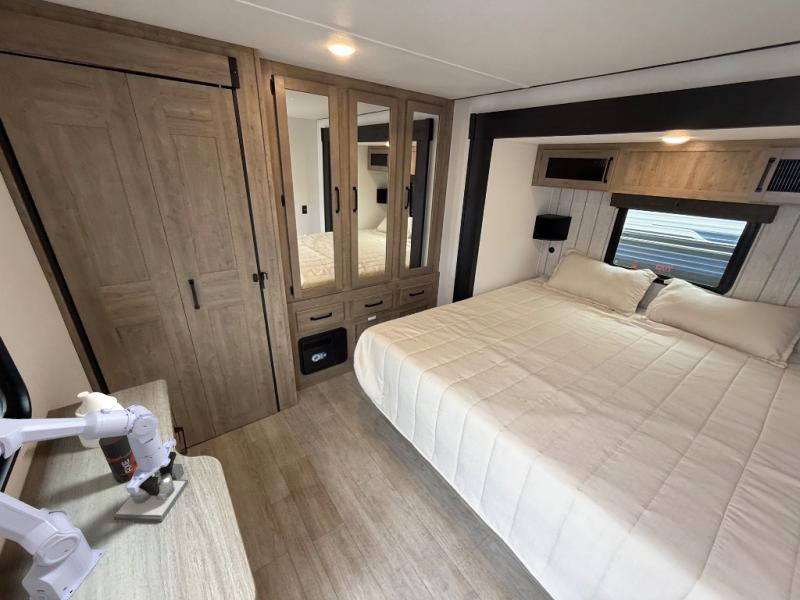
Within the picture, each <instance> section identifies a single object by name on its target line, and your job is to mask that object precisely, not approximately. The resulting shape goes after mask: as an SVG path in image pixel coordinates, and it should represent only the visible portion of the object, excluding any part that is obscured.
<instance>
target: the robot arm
mask: <svg viewBox="0 0 800 600" xmlns="http://www.w3.org/2000/svg"><path fill="white" fill-rule="evenodd" d="M159 423H160V419H159V418H157V415H155V414H154V413H153V412H151V411H150V410H149V409H148V408H146V406H145V407H144V406H143V405H140V404H139V405H138V404H133V405H129V406H127V408H126V407H125V408H124V410H111V411H110V410H109V409H108V408H102V409H101V410H100V411H93V412H90V413H88V414H87V415H85V416H84V417H82V418H78V417H62V418H61V417H60V418H57V417H56V418H21V419H20V418H19V419H18V418H17V419H16V418H4V417H3V418H1V417H0V456H1V455H2V457H3V458H4V459H8V458H9V457H11V456H12V455H13V454H14V453H15V452H16V451H18V450H19V449H21V447H22V446H23V445H25V444H28V443H33V442H34V443H35V442H41V441H47V440H48V441H49V440H54V439H61V438H67V437H75V436H78V435H80V436H81V437H82V438H83V439H85V440H89V439H98V438H106V437H115V436H123V435H127V437H128V441H129V444H130V447H131V449H132V452H133V455H134V457H135V460H136V463H137V465H138V466H137V468H136V470H135V472H134V475H133V477H132V479H131V481H129V482H128V484H127V486H126V487H125V488H126V492H127V493H128V494H130V493H137V492H138V490H139V488H141V489H143V490H144V491H146V492H147V493H148V494H149V495H150V496H158V494H159V488H158V479H159V477H155V476H153V475H155V474H154V473H155V472H156V471H157V470H159V471H160V473H163V472H168V473H170V475H171V477H172V471H173V463H175V459H176V458H177V453H176V451H172V449H173V448H174V447H175V446H176V445H177V440H176V439H175V438H167V440H166V441H164V442H162V438H161V436H160V433H159V429H158V428H157V427H158V425H159ZM0 537H3V538H5V539H8V540H11V541H12V542H16V543H18V544H19V545H20V546H21V547H22V548H23V549H24V550H26V552H28V553H29V554H30V555H32V556H33V557H32V558H33V563H32V565H31V567H30V570H29V571H28V572H27V574H26V575H25V577H23V578H22V581H21V585H22V587H23V588H24V590H25V591H26V592H27V594H29V598H28V599H29V600H70V599H71V597H72V595H74V593H75V590H78V588H79V587H80V586H81V584H82V583H83V581H84V580H85V579H86V578H87V576H88V575H89V574H90V572H92V570H93V569H94V567H96V565H97V564H98V562H99V561H100V560H101V558H102V557H103V555H104V554H105V553H106V549H93V548H91V547H90V544H89V542H88V541H87V539H86V537H85V535H84V534H83V532H82V530H81V529H80V528H78V527H76V526H74V524H73V523H72V521H71V520H70V518H69V517H68V514H67V512H66V511H65V510H63V509H61V508H60V509H48V508H47V509H46V508H45V507H41V508H40V509H38V508H37V507H34V506H31V505H30V504H27V503H26V502H23V501H21V500H19V499H17V498H15V497H12V496H11V495H8V494H7V493H4V492H3V491H0ZM71 591H72V592H71ZM70 592H71V593H70Z"/></svg>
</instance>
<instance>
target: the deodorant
mask: <svg viewBox="0 0 800 600" xmlns="http://www.w3.org/2000/svg"><path fill="white" fill-rule="evenodd" d="M99 445H100V447H99V448H100V449H101V451H102V453H103V456H104V457H105V460H106V462H107V464H108V467H109V468H110V471H111V473H112V476H113V477H114V480H115V482H116V483H117V484H125V483H127V482H128V483H129V482H130V481H131V479H132V477H133V475H134V472H135V470H136V468H137V466H138V465H137V463H136V460H135V457H134V455H133V452H132V449H131V447H130V444H129V441H128V437H127V435H123V436H115V437H106V438H100V440H99Z"/></svg>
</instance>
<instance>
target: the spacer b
mask: <svg viewBox="0 0 800 600" xmlns="http://www.w3.org/2000/svg"><path fill="white" fill-rule="evenodd" d="M154 477H159V479H158V488H159V494H158V496H155V498H156V499H157V500H163V499H166V498H168V497H169V496H170V495H172V494H173V492H174V490H175V486H174V483H173V480H172V478H171V475H170V473H168V472H163V473H160V474H158V475H157V476H155V475H154Z"/></svg>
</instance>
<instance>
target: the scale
mask: <svg viewBox="0 0 800 600" xmlns="http://www.w3.org/2000/svg"><path fill="white" fill-rule="evenodd" d="M158 474H160V471H159V470H157V471H156V472H155V473H154V474H153V475H154V477H155V476H157V475H158ZM184 475H185V471H184V467H183V464H182V463H176V462H174V463H173V471H172V477H171V478H172V480H173V483H174V486H175V490H174V492H173V494H172V495H170V496H169V497H168V498H166V499H163V500H157V499H156V498H155V496H152V497H151V498H150V499H148V500H147V501H146V502H143V503H141V504H135V503H134V502H133V499H132V497H131V495H130V496H128V498H127V500H125V502H124V503H123V504H122V506H120V508H119V509H118V510H117V511H116V513H115V514H114V515H113V516H112V519H113V521H123V522H124V521H127V522H128V521H130V522H151V523H153V522H155V523H156V522H159V523H162V522H163V521H164V520H165V519H166V517H167V516H168V514H169V513H170V511H171V510H172V509H173V507H174V506H175V504H176V502H177V501H178V499H179V498H180V496H182V493H183V492H184V491H185V489H186V488H187V486H188V485H189V480H188V479H182V477H184Z"/></svg>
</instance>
